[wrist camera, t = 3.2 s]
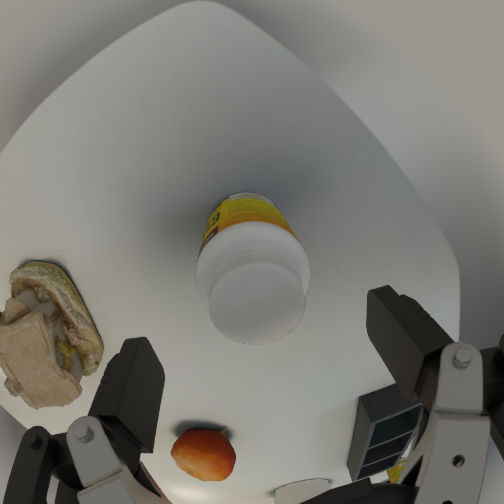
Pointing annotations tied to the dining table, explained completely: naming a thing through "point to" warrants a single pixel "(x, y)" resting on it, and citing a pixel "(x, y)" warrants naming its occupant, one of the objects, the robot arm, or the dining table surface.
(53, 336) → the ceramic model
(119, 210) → the dining table surface
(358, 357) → the dining table surface
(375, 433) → the rack
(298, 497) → the vase
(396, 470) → the supplement bottle
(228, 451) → the fruit
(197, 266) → the supplement bottle
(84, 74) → the dining table surface
